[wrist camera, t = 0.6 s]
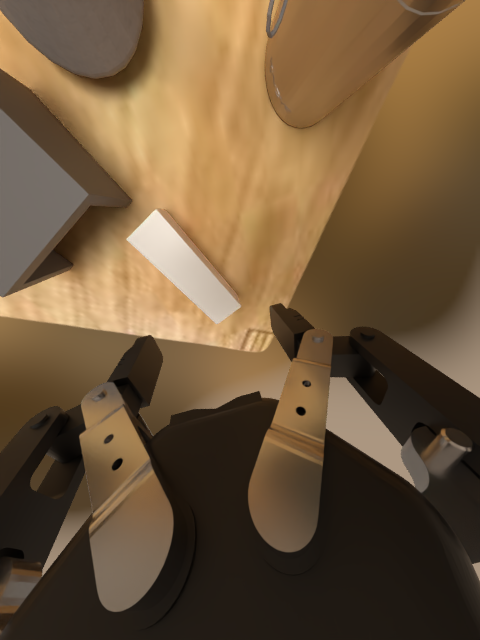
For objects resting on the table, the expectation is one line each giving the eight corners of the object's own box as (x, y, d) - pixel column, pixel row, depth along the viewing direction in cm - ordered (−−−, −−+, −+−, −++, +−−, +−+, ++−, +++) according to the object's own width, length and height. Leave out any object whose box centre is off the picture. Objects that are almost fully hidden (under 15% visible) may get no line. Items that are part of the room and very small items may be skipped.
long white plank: (140, 234, 24) (126, 239, 20) (165, 209, 23) (155, 208, 19) (215, 310, 32) (216, 324, 28) (236, 293, 31) (241, 306, 27)
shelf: (132, 200, 22) (88, 194, 14) (68, 270, 25) (3, 297, 17) (28, 88, 16) (-143, -30, 8) (-38, 194, 19) (-210, 181, 11)
